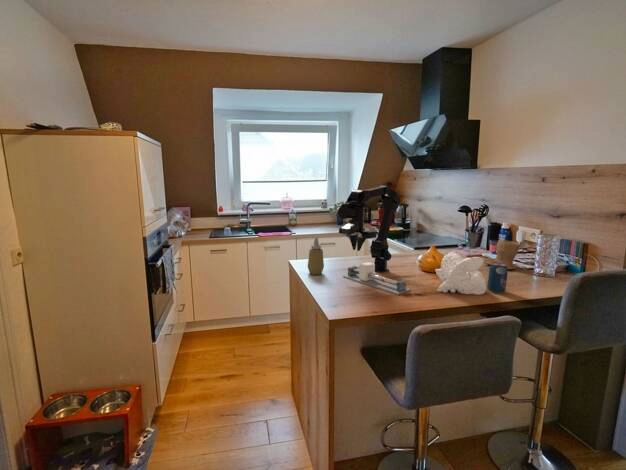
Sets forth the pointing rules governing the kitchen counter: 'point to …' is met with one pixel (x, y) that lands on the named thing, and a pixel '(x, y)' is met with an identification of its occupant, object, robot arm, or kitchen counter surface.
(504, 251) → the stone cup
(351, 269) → the rail
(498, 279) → the soda can
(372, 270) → the collar
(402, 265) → the kitchen counter surface
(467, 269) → the white sculpture
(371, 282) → the base board
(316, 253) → the squeeze bottle
